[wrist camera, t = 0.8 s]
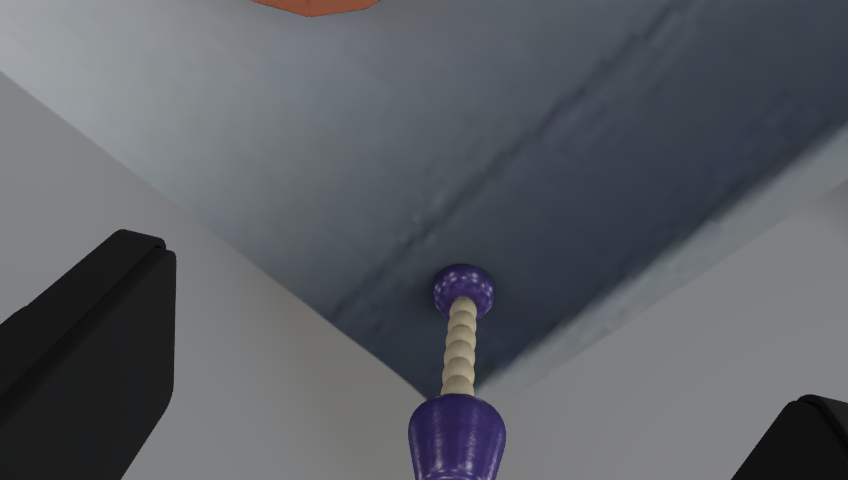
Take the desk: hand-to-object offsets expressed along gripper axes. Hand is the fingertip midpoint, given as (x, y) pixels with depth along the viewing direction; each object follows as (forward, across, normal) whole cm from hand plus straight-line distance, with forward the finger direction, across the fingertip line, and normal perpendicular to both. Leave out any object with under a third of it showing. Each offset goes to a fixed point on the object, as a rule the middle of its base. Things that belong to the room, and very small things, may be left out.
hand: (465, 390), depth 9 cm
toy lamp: (+26, -3, +15) cm, 30 cm away
